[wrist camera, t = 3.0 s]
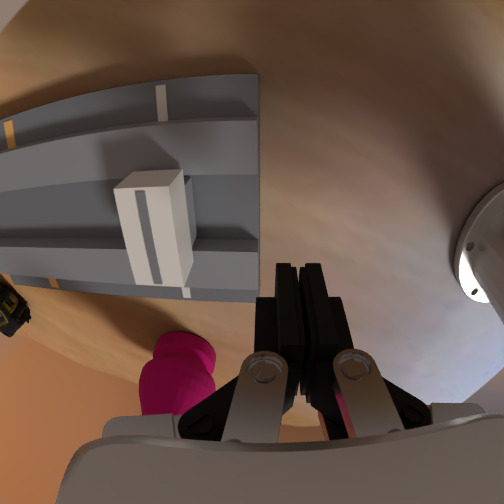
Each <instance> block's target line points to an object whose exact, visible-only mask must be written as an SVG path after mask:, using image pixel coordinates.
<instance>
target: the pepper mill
mask: <svg viewBox="0 0 504 504" xmlns="http://www.w3.org/2000/svg"><path fill="white" fill-rule="evenodd" d="M215 361H216V354H215V351H214V349H213V348H212V346H211V345H210V344H209V343H208V342H207V341H205V340H204V339H202V338H200V337H198V336H196V335H193V334H190V333H185V332H171V333H167V334H165V335H163V336H161V337H160V338H159V339H158V341H157V344H156V347H155V350H154V353H153V359H152V360H150V361H149V362H147V363H146V364H145V366H144V367H143V369H142V372H141V375H140V379H139V397H140V402H141V409H142V415H157V414H169V413H172V415H173V416H174V415H183V414H184V413H185V412H186V411H187V410H189V409H190V408H192V407H193V406H195V405H196V404H198V403H199V402H201V401H202V400H204V399H205V398H207V397H208V396H210V395H211V394H213V393H214V392H215V390H216V389H215V383H214V380H213V378H212V376H211V375H212V373H213V371H214V366H215Z"/></svg>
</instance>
